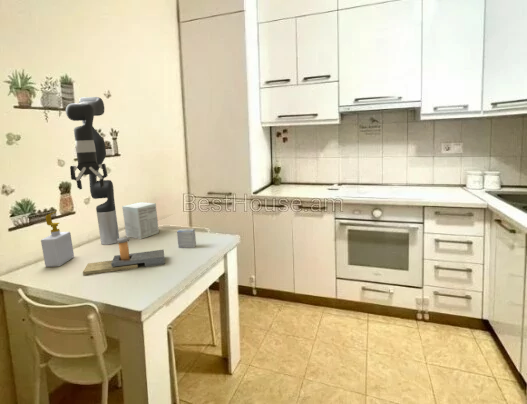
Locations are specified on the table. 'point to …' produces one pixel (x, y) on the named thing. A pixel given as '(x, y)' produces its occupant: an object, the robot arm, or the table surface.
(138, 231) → the supplement box
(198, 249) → the table surface
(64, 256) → the soap bottle
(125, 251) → the pin
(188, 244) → the medicine box
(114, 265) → the wooden plank with frame
